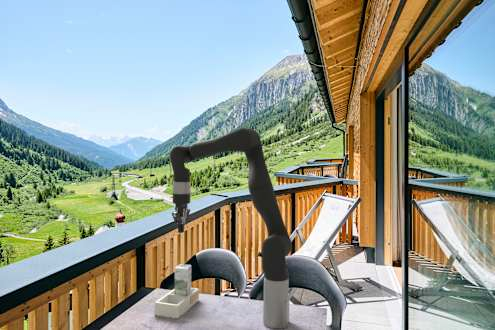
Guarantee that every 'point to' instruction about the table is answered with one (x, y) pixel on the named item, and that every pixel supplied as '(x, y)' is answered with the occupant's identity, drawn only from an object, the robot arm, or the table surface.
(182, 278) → the syrup box
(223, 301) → the table surface
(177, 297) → the box
